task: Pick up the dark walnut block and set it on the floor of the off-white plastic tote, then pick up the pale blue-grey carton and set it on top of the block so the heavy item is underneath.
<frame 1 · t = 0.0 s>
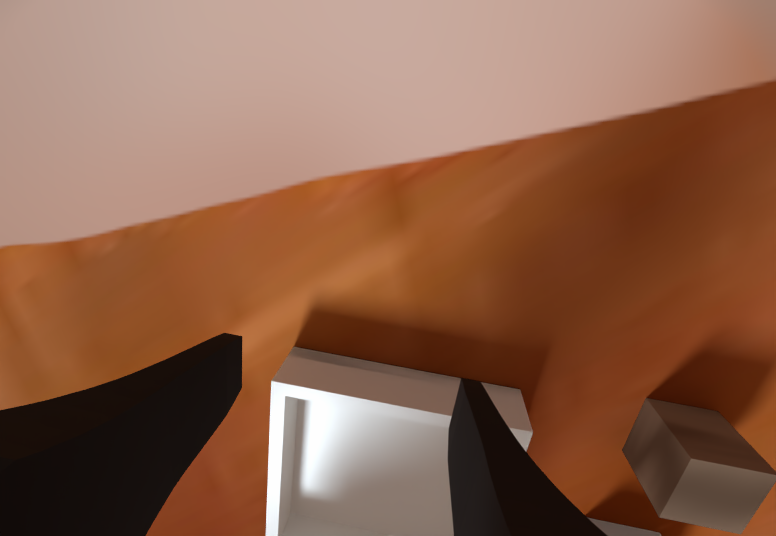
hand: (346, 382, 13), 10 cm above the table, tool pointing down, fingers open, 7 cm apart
walnut block: (667, 430, 24), on the table
tote: (389, 454, 27), on the table
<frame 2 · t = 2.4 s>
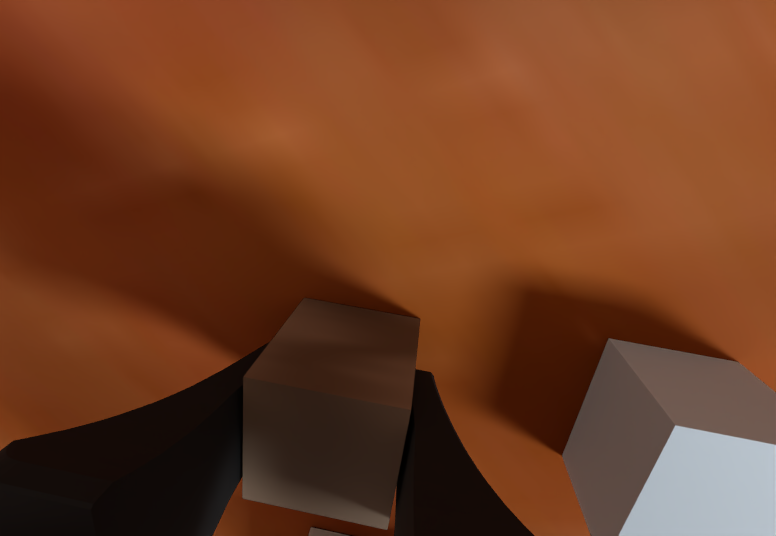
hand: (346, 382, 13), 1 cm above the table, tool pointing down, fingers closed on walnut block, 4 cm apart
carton: (641, 410, 14), on the table
walnut block: (355, 357, 14), on the table, touching gripper
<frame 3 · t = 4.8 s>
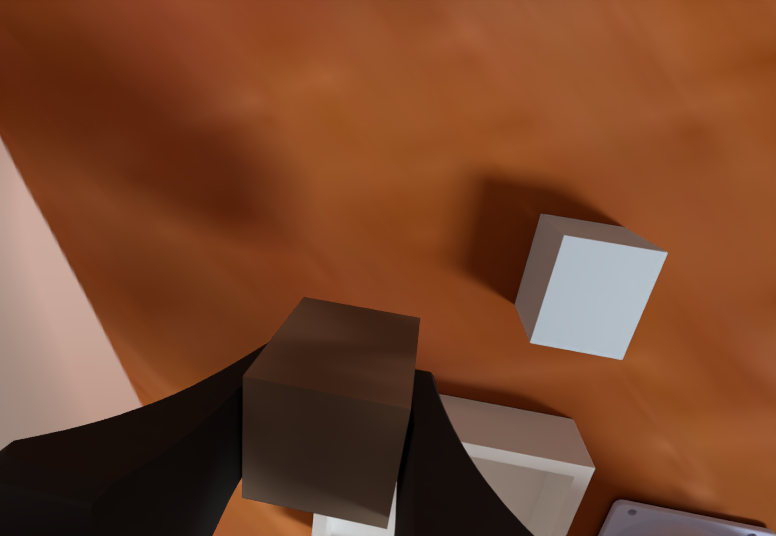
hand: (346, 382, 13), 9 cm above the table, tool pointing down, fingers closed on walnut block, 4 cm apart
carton: (566, 267, 20), on the table
walnut block: (355, 357, 14), point 8 cm above the table, touching gripper
tote: (433, 482, 26), on the table
when the fingers open (4 cm above the table, at t = 7.4 s): walnut block drops 1 cm, resting on tote.
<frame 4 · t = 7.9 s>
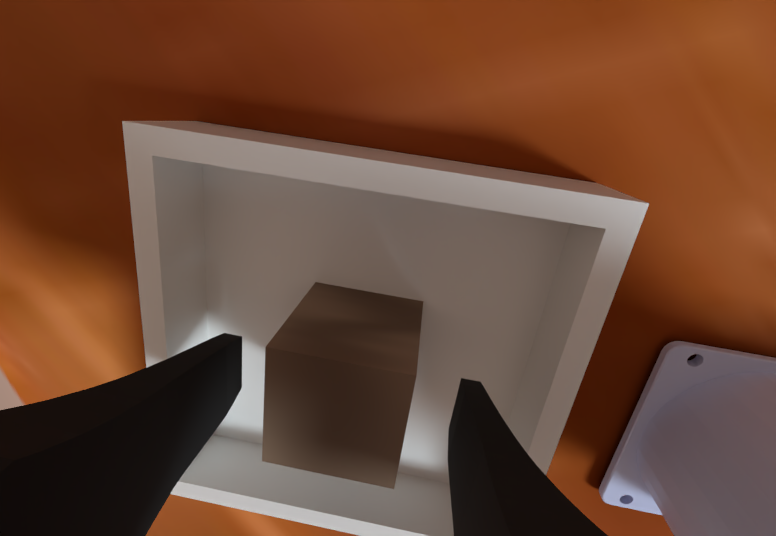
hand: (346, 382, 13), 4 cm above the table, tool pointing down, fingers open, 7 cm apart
walnut block: (362, 338, 15), point 1 cm above the table, touching tote
tote: (365, 328, 16), on the table
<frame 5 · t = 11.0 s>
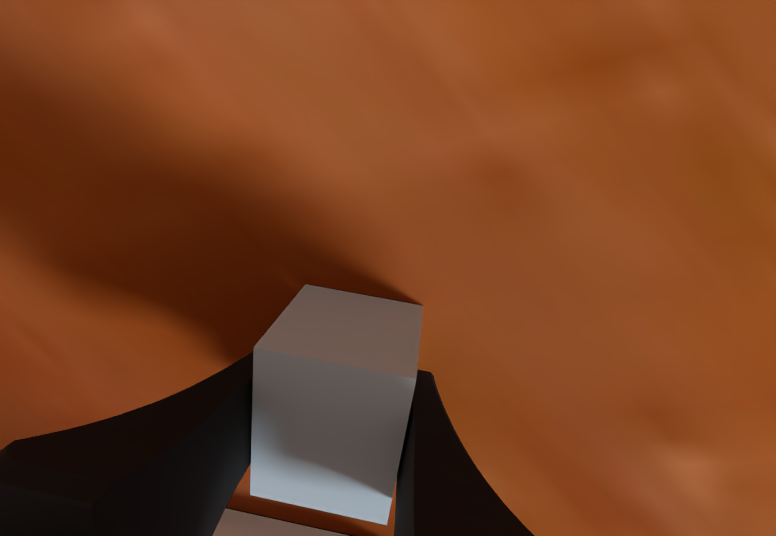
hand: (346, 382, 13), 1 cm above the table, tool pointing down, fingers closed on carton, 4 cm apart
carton: (355, 357, 14), on the table, touching gripper
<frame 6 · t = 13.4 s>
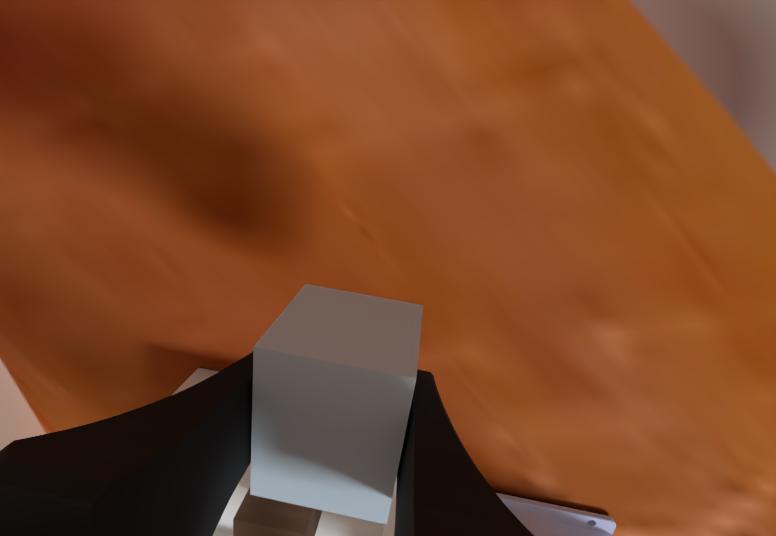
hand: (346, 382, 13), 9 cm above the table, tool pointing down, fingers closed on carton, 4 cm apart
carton: (355, 357, 14), point 8 cm above the table, touching gripper
walnut block: (295, 482, 26), point 1 cm above the table, touching tote
tote: (299, 471, 27), on the table
when the fingers open (8 cm above the table, at t = 16.1 s): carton stays where it is, resting on walnut block.
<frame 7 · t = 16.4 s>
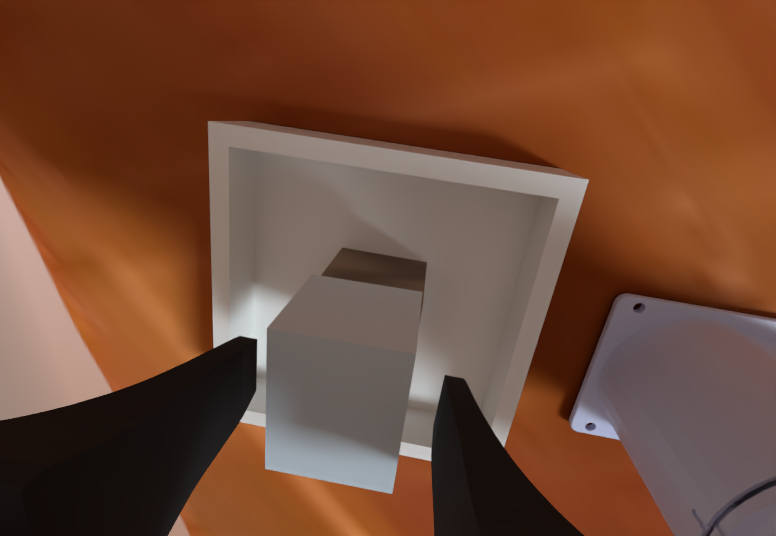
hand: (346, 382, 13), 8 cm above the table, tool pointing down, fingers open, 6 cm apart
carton: (360, 343, 15), point 5 cm above the table, touching walnut block
walnut block: (378, 293, 19), point 1 cm above the table, touching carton, tote
tote: (380, 287, 20), on the table
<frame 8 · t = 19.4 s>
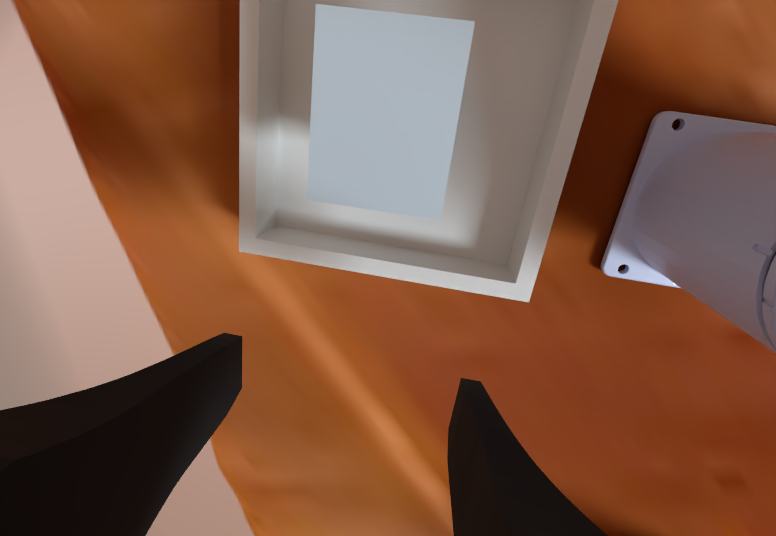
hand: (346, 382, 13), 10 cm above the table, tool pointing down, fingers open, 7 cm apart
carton: (397, 119, 14), point 5 cm above the table, touching walnut block
tote: (408, 120, 20), on the table
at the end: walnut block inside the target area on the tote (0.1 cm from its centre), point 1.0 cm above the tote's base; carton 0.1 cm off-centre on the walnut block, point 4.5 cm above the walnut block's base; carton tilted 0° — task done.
